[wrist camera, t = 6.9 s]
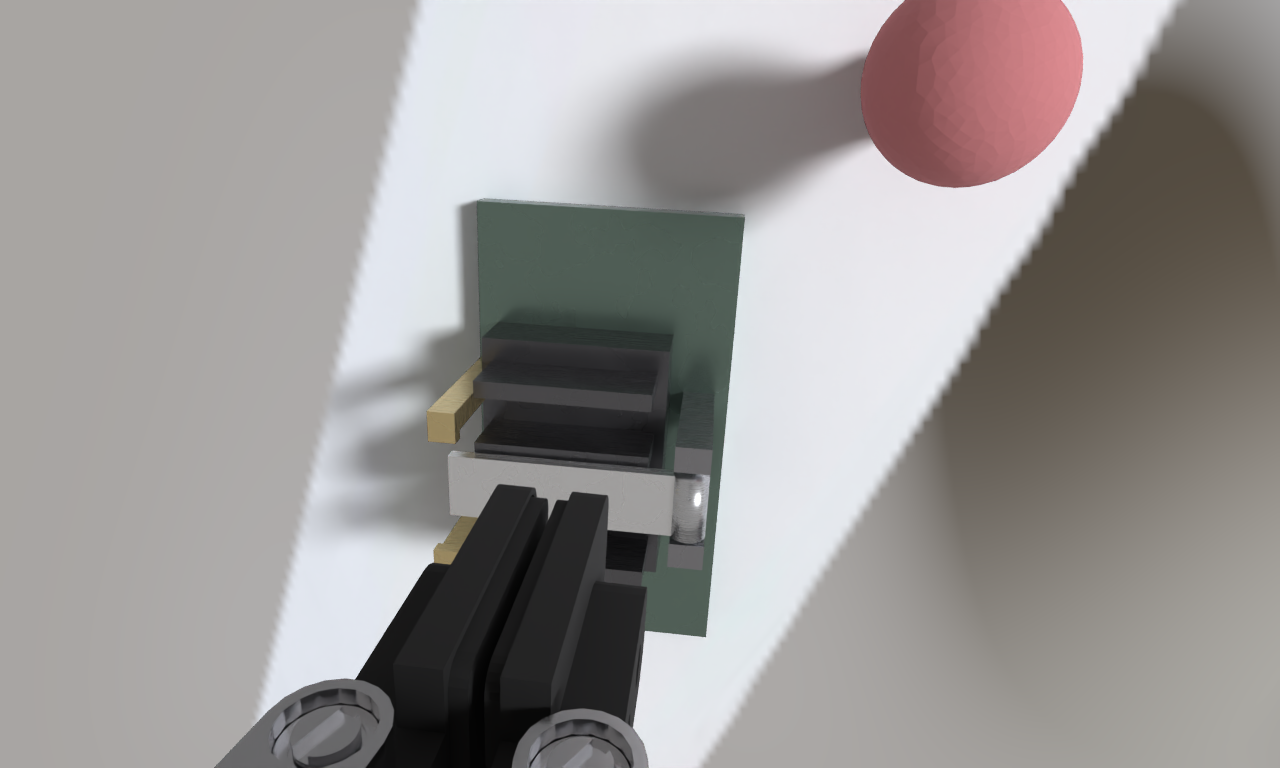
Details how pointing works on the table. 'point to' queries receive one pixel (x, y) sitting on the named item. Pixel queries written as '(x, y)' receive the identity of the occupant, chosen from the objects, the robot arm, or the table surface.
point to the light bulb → (970, 86)
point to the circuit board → (606, 365)
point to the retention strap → (588, 490)
